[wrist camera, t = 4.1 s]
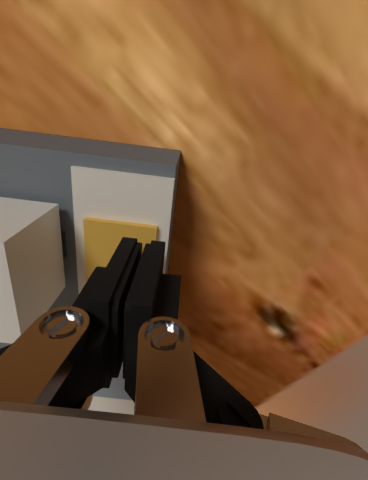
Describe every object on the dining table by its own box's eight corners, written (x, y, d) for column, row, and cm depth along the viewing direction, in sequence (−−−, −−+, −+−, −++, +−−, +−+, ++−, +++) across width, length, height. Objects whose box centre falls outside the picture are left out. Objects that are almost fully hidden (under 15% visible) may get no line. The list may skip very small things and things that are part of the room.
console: (180, 150, 14) (175, 167, 10) (151, 428, 25) (142, 492, 20) (-175, 106, 14) (-328, 105, 10) (-53, 407, 24) (-102, 467, 20)
